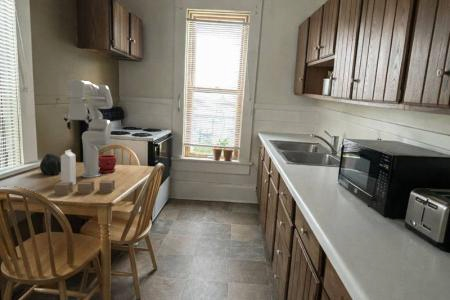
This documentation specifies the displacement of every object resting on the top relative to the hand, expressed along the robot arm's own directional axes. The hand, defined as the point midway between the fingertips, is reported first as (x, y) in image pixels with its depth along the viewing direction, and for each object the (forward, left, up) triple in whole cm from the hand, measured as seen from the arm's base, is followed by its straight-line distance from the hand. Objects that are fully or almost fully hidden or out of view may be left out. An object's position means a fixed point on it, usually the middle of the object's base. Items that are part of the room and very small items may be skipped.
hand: (78, 129), depth 183 cm
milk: (-2, -7, -36) cm, 36 cm away
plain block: (+12, +8, -35) cm, 38 cm away
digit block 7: (+8, +19, -35) cm, 41 cm away
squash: (-28, -28, -36) cm, 53 cm away
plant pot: (-39, +6, -36) cm, 53 cm away
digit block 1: (+15, -3, -36) cm, 39 cm away
